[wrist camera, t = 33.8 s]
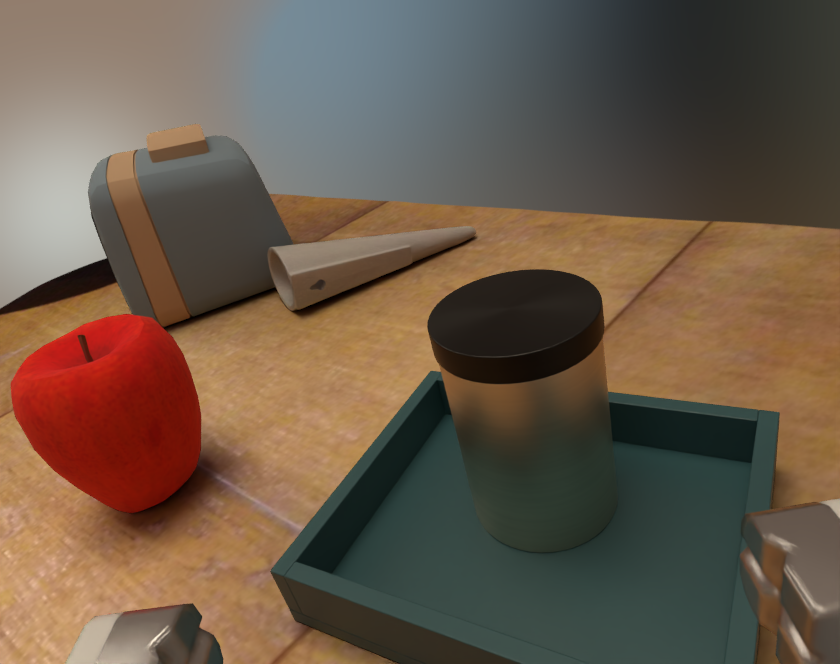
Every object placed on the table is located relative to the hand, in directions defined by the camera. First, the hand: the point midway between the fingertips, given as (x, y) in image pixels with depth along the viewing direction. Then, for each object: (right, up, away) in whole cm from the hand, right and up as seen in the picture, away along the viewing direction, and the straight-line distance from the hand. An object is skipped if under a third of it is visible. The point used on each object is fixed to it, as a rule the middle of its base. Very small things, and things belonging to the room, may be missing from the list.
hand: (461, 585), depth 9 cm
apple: (-16, -6, +29) cm, 33 cm away
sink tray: (+5, -6, +19) cm, 20 cm away
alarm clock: (-21, +9, +57) cm, 61 cm away
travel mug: (+5, -4, +20) cm, 21 cm away
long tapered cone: (-4, +10, +50) cm, 51 cm away
